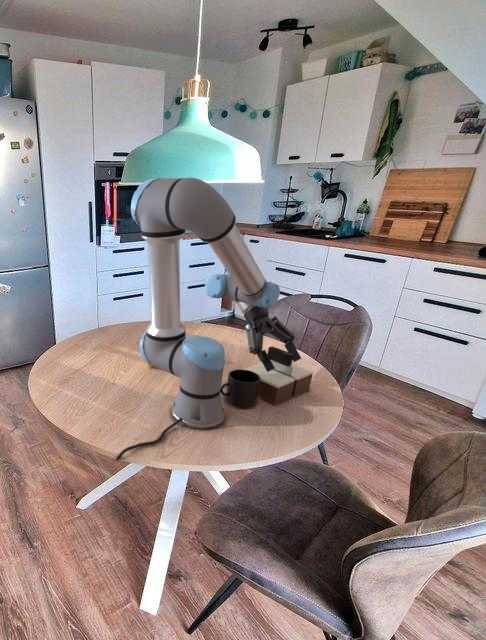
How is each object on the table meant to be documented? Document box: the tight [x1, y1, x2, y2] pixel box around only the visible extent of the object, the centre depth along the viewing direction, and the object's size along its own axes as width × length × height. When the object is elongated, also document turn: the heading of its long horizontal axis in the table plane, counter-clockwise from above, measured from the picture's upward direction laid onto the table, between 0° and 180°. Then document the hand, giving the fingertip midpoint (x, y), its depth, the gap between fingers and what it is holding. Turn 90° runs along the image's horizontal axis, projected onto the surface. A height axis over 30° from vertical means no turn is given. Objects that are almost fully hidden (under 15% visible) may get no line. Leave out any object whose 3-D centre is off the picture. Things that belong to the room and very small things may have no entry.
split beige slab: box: [242, 362, 314, 406], centre depth 129 cm, size 18×14×7 cm
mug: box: [220, 368, 260, 409], centre depth 121 cm, size 9×12×9 cm
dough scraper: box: [267, 345, 294, 377], centre depth 127 cm, size 2×10×12 cm, turn 32°
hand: (284, 365), depth 125 cm, fingers open, 13 cm apart
